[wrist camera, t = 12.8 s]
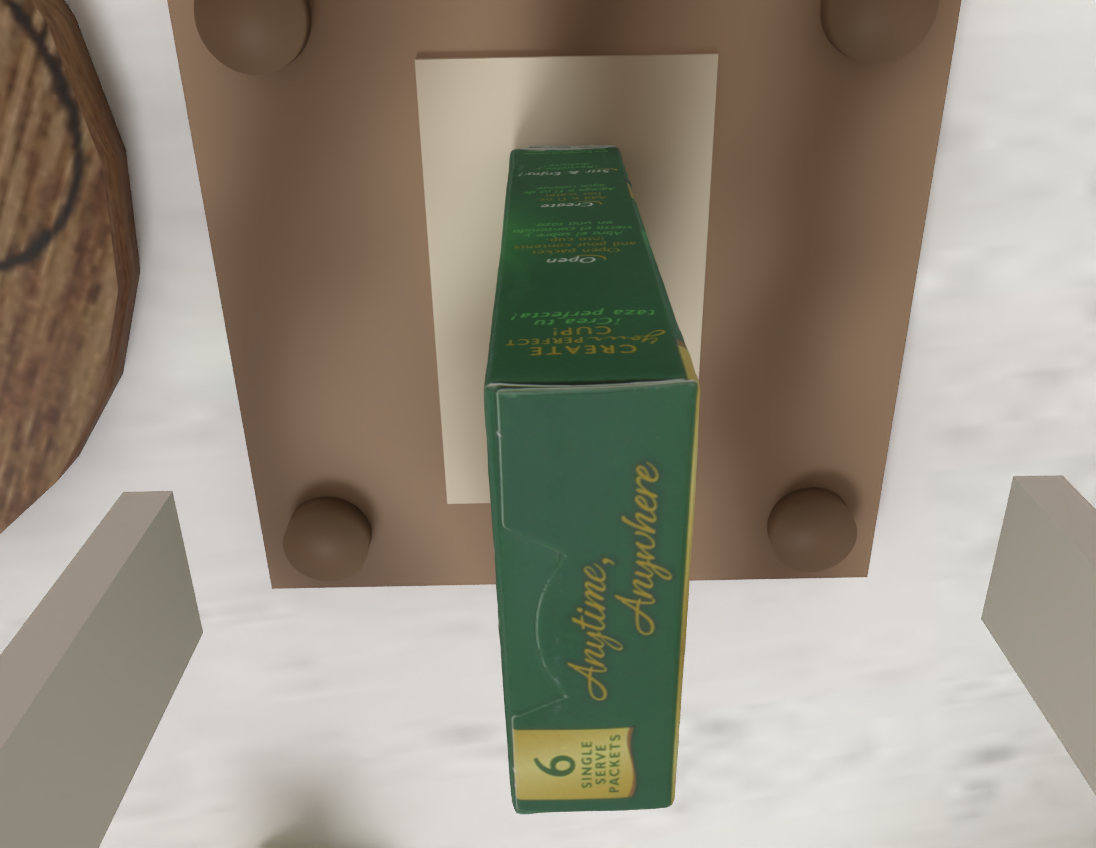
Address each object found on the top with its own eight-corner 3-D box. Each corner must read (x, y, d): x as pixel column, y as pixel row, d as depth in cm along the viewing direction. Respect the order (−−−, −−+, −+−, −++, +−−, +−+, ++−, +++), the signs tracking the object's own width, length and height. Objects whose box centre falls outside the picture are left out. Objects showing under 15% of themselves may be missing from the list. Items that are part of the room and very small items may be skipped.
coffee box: (619, 439, 27) (683, 830, 15) (515, 441, 27) (500, 833, 15) (626, 142, 23) (716, 359, 12) (506, 144, 23) (476, 363, 12)
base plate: (946, -96, 23) (992, -98, 21) (850, 543, 31) (875, 593, 29) (179, -83, 23) (139, -83, 21) (285, 554, 31) (265, 605, 29)
